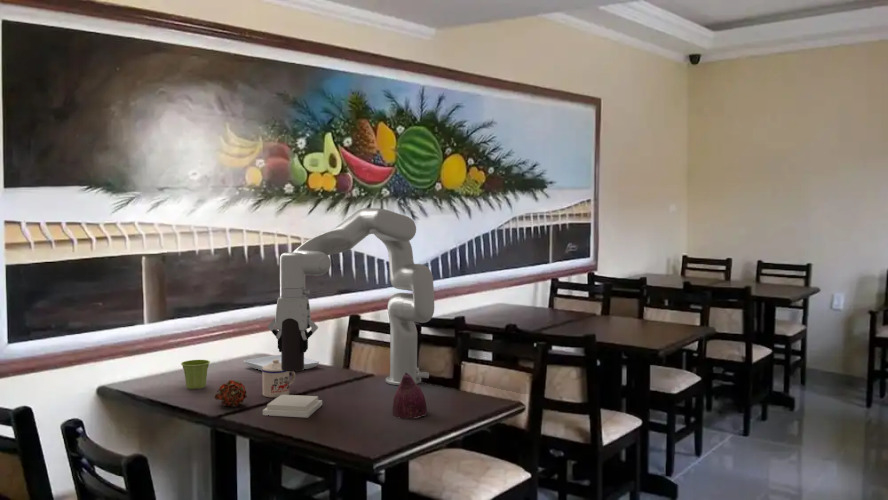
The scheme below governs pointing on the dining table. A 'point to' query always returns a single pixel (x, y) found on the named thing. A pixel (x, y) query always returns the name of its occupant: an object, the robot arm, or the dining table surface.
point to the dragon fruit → (231, 393)
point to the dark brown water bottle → (291, 346)
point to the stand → (293, 406)
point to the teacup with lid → (276, 380)
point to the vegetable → (409, 399)
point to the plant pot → (195, 373)
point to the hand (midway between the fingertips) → (292, 351)
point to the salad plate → (263, 361)
